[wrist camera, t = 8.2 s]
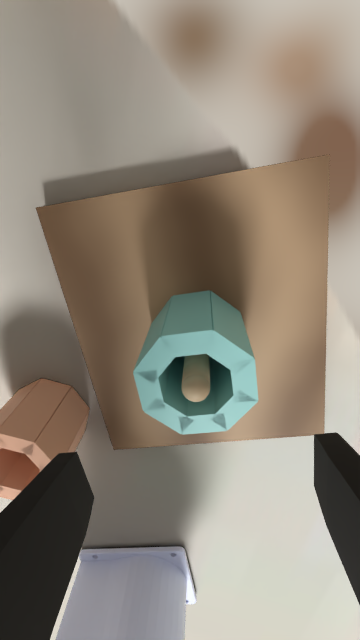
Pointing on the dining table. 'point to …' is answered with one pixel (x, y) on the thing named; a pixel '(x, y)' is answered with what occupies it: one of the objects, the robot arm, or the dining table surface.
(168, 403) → the teal bead
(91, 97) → the dining table surface
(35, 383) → the terracotta bead
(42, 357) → the dining table surface
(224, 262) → the brown piece
